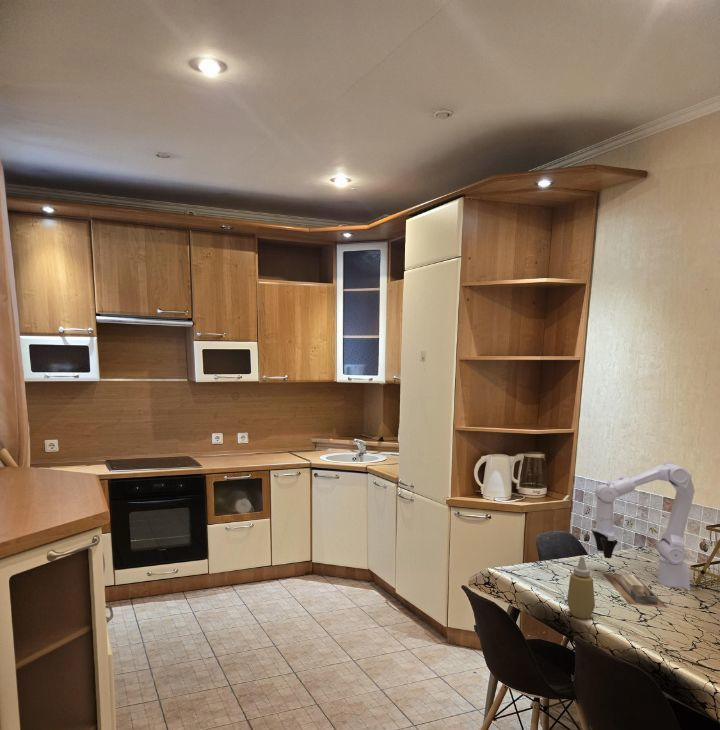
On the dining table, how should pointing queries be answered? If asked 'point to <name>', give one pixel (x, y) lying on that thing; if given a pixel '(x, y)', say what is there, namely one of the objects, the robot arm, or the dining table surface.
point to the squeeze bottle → (581, 592)
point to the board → (632, 597)
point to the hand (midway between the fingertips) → (604, 554)
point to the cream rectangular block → (632, 584)
